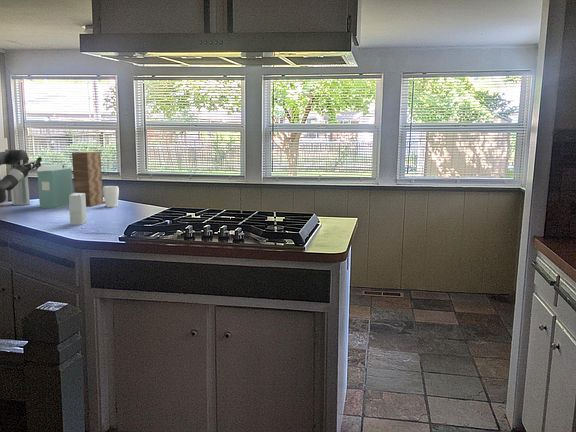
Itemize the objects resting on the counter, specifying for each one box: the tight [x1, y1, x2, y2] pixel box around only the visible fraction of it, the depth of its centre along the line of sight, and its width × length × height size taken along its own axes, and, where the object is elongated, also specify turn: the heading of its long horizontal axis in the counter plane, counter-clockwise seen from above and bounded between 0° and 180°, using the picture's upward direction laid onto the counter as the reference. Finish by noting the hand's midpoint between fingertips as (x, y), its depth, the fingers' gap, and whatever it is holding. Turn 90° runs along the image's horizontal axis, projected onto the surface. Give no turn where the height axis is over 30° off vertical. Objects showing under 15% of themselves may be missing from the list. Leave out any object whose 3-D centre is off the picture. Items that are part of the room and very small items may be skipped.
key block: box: [36, 167, 74, 209], centre depth 314 cm, size 18×10×22 cm, turn 167°
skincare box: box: [68, 192, 87, 226], centre depth 257 cm, size 8×6×15 cm
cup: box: [102, 185, 120, 208], centre depth 314 cm, size 9×9×12 cm
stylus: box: [33, 164, 65, 173], centre depth 308 cm, size 24×2×2 cm, turn 167°
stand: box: [71, 151, 106, 208], centre depth 319 cm, size 16×12×32 cm
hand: (34, 158), depth 291 cm, fingers open, 8 cm apart
